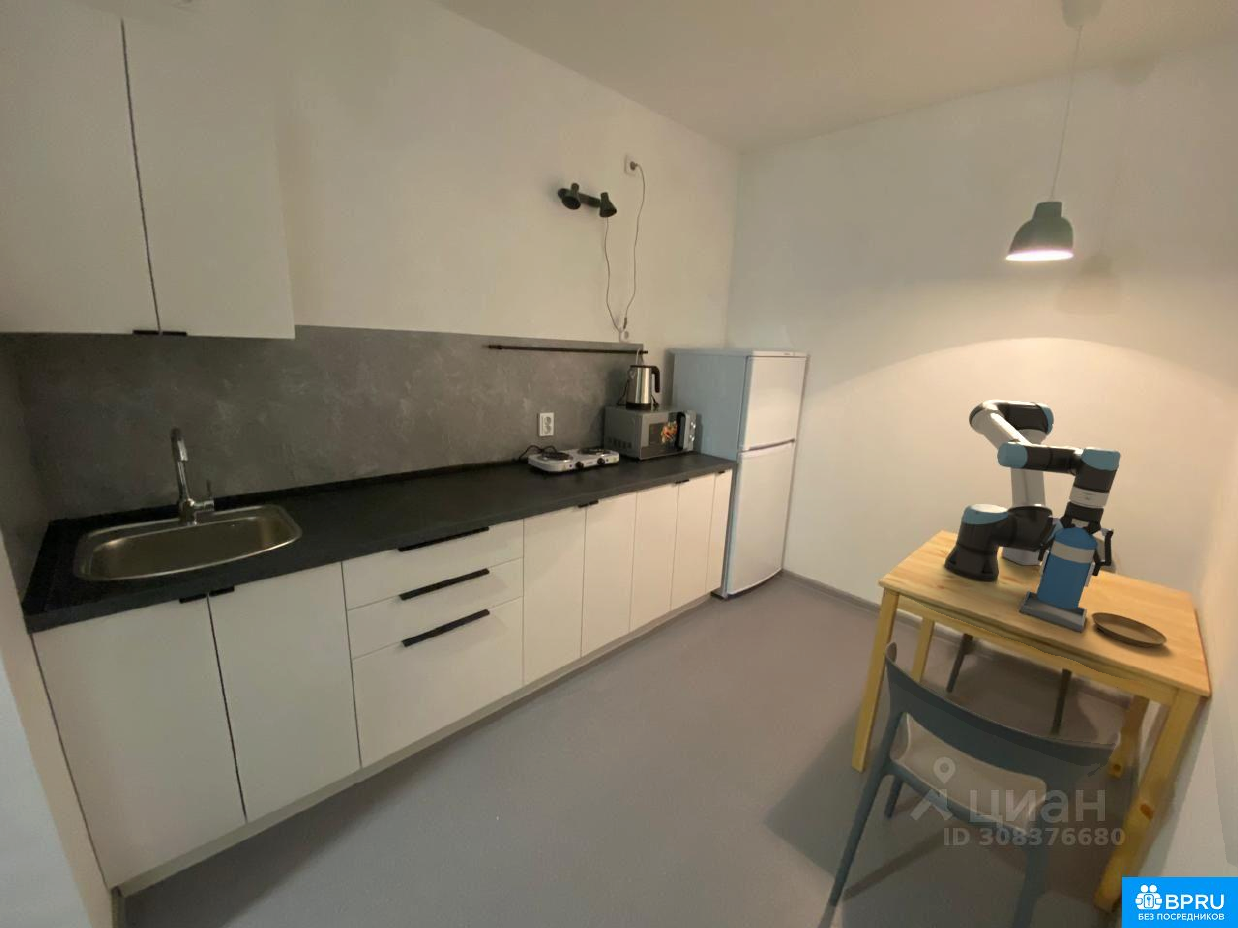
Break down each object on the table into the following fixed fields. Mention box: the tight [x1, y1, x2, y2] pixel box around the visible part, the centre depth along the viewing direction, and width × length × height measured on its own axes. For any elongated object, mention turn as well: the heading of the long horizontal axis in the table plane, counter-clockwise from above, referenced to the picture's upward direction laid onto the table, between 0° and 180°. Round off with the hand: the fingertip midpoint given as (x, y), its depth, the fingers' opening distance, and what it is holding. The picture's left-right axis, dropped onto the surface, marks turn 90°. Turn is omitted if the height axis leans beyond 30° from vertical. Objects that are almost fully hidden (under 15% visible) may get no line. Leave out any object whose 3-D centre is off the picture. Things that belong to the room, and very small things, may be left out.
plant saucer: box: [1090, 611, 1168, 648], centre depth 135 cm, size 15×15×3 cm
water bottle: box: [1036, 518, 1099, 609], centre depth 140 cm, size 9×9×25 cm
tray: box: [1018, 590, 1088, 634], centre depth 144 cm, size 14×14×2 cm
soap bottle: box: [1001, 547, 1042, 566], centre depth 178 cm, size 9×9×25 cm
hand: (1063, 578), depth 141 cm, fingers closed on water bottle, 9 cm apart
